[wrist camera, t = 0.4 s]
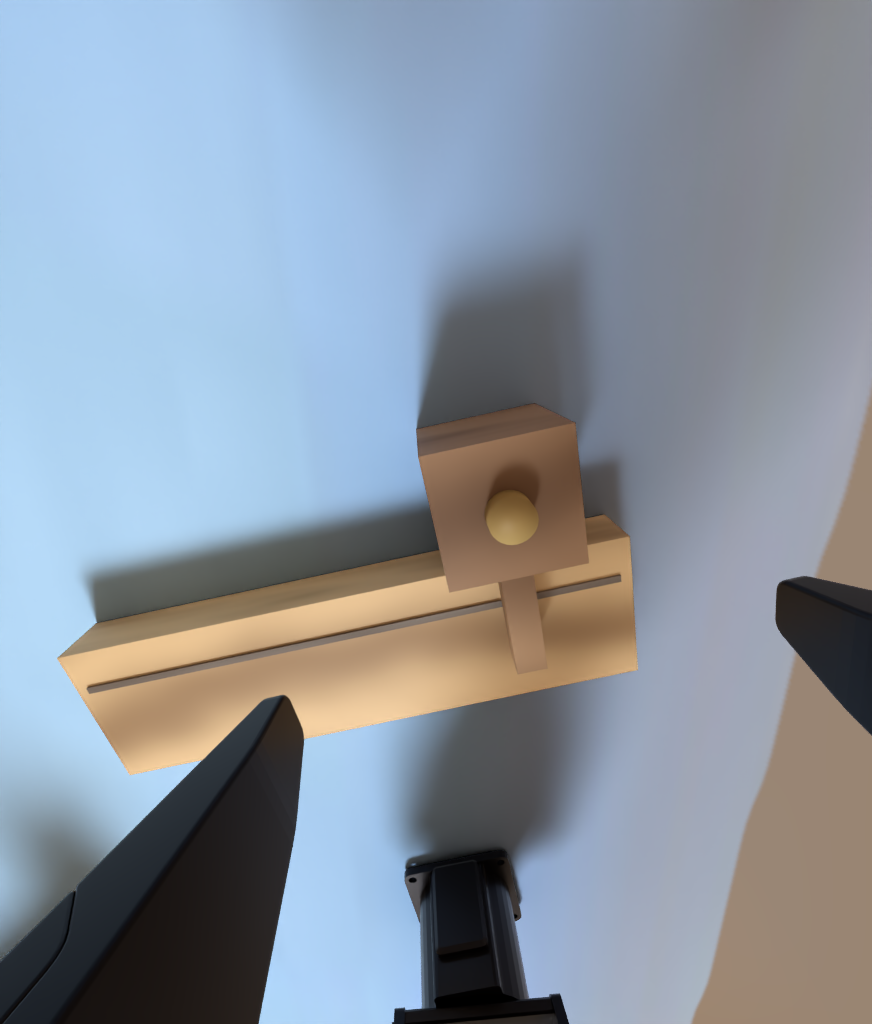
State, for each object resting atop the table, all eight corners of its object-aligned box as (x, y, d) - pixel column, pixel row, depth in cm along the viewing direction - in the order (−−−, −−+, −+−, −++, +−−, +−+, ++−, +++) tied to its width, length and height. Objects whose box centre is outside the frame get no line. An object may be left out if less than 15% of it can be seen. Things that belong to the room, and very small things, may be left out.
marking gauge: (559, 597, 22) (607, 679, 17) (458, 618, 22) (474, 707, 17) (534, 403, 19) (584, 427, 13) (416, 428, 19) (418, 463, 13)
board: (614, 636, 23) (638, 671, 21) (157, 732, 23) (128, 777, 21) (604, 514, 21) (630, 537, 18) (96, 623, 21) (55, 659, 19)
